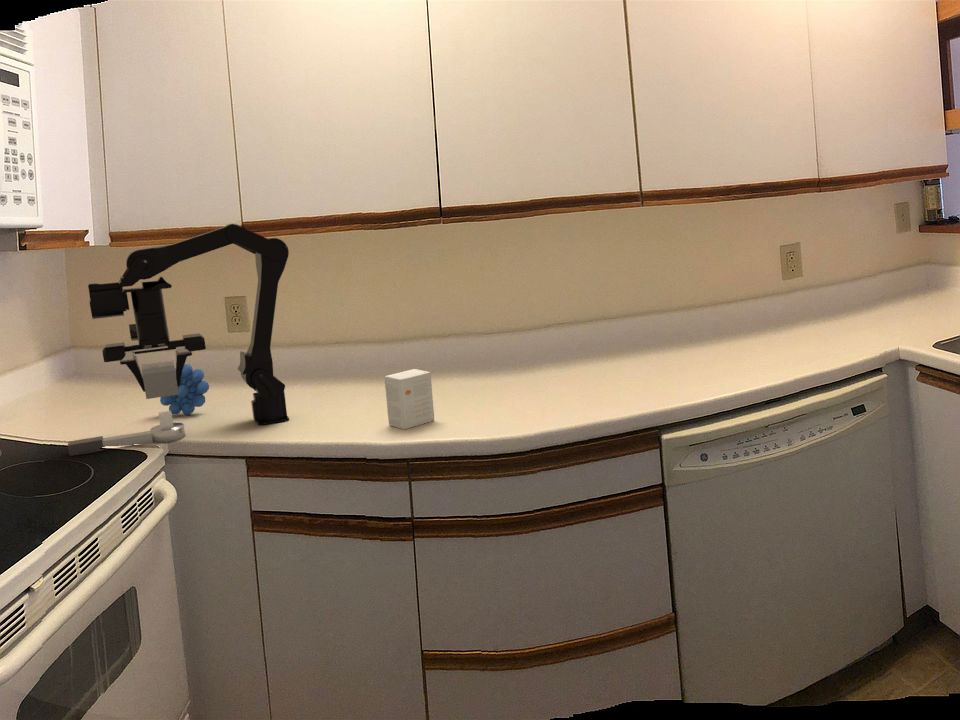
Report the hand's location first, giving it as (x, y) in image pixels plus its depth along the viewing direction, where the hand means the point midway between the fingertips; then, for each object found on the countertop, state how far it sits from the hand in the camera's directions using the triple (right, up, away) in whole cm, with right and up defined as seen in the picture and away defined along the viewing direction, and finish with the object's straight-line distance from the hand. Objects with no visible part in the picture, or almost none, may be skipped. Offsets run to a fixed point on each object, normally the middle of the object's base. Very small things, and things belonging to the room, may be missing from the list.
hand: (161, 388), depth 150 cm
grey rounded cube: (0, -1, 0) cm, 1 cm away
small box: (+51, -7, +2) cm, 51 cm away
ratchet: (-6, -11, -1) cm, 13 cm away
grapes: (-3, -7, +21) cm, 22 cm away
